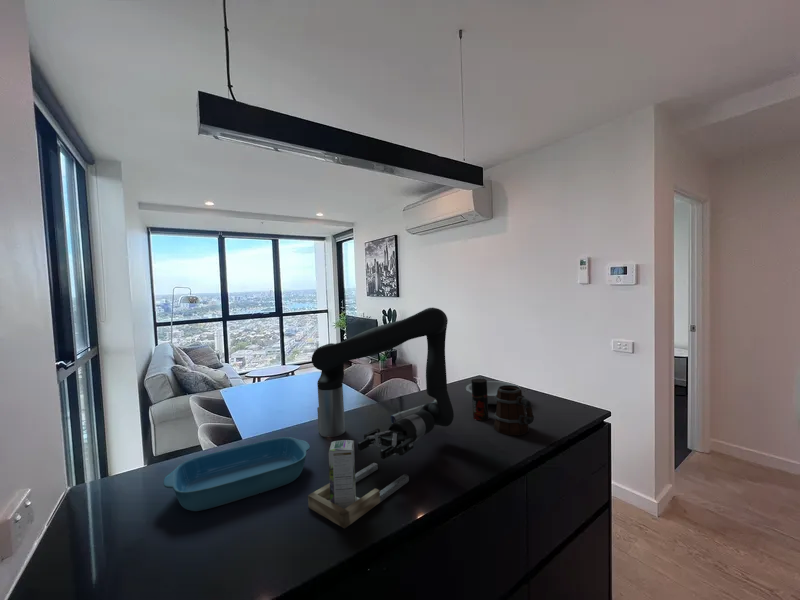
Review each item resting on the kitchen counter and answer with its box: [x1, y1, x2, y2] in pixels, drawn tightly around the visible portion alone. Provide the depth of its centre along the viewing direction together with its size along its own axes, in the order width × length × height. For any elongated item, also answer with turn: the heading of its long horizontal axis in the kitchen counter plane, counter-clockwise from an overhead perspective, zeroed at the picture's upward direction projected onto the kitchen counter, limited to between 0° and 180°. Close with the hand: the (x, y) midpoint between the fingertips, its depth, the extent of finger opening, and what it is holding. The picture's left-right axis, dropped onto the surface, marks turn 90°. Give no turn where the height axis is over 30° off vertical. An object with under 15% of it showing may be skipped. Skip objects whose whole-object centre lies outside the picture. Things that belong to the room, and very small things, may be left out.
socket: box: [307, 482, 381, 529], centre depth 83 cm, size 12×13×3 cm
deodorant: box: [470, 378, 490, 422], centre depth 136 cm, size 6×6×15 cm
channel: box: [355, 462, 410, 503], centre depth 92 cm, size 12×13×2 cm
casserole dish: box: [162, 436, 311, 512], centre depth 96 cm, size 37×22×7 cm, turn 122°
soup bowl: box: [465, 380, 522, 405], centre depth 155 cm, size 24×24×7 cm
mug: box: [493, 385, 535, 436], centre depth 122 cm, size 16×12×15 cm
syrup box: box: [328, 439, 357, 509], centre depth 83 cm, size 6×6×14 cm
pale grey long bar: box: [390, 398, 437, 424], centre depth 140 cm, size 5×7×25 cm
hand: (369, 451), depth 91 cm, fingers open, 8 cm apart
